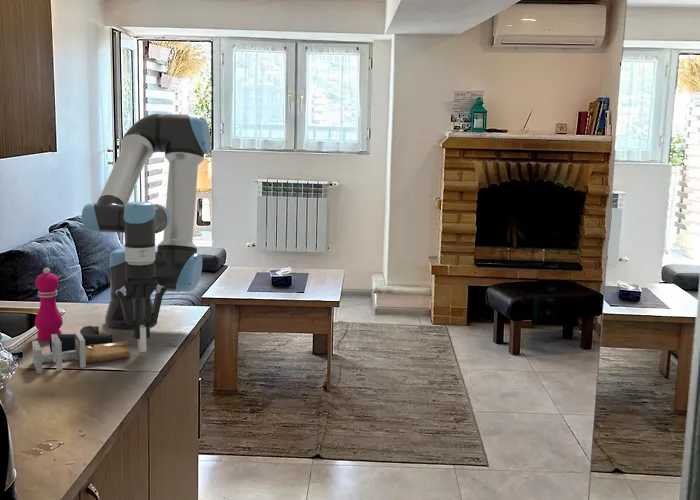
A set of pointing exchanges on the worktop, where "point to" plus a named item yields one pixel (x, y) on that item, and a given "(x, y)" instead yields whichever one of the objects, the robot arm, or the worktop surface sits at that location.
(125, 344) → the tube
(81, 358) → the grey slatted rack
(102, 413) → the worktop surface
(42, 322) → the pepper mill
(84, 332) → the pipe connector
